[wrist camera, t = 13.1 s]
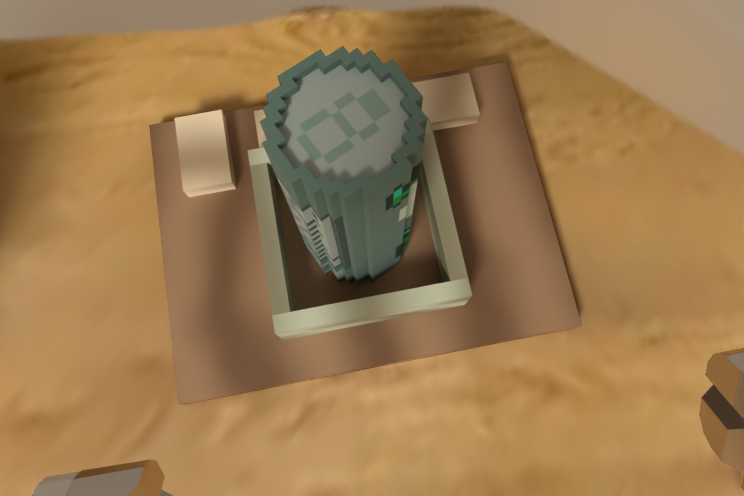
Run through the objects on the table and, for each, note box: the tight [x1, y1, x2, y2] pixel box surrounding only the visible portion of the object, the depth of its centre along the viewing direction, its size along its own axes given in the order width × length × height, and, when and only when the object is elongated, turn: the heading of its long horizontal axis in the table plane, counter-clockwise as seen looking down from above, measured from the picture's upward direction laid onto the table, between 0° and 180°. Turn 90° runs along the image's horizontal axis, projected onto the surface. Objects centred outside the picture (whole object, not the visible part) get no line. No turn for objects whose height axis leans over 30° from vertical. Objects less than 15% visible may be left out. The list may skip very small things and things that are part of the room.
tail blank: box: [175, 110, 236, 197], centre depth 39 cm, size 5×3×1 cm, turn 11°
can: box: [259, 46, 428, 284], centre depth 30 cm, size 6×6×15 cm
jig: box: [149, 62, 582, 405], centre depth 37 cm, size 24×18×4 cm
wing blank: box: [254, 73, 480, 148], centre depth 39 cm, size 14×3×1 cm, turn 101°
